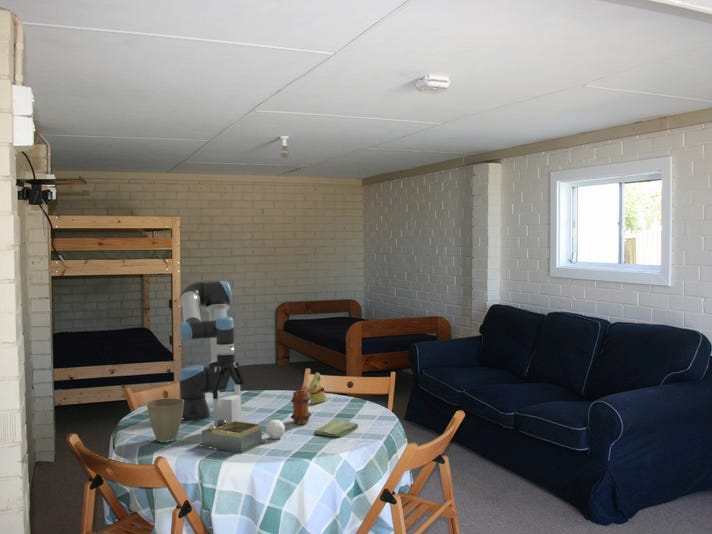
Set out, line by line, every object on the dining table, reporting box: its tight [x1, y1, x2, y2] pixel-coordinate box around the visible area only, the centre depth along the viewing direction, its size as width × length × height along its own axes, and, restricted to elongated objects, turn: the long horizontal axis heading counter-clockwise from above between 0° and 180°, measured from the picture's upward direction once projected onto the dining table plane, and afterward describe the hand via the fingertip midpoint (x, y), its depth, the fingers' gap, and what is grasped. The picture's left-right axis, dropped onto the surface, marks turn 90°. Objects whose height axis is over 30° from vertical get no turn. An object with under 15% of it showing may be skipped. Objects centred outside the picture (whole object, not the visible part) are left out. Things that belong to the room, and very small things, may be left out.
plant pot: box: [146, 397, 184, 441], centre depth 282 cm, size 15×15×16 cm
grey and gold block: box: [198, 420, 266, 454], centre depth 274 cm, size 22×15×8 cm
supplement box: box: [212, 394, 243, 426], centre depth 293 cm, size 9×9×15 cm
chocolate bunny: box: [308, 372, 327, 405], centre depth 339 cm, size 7×11×15 cm, turn 139°
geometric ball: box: [265, 419, 286, 440], centre depth 281 cm, size 8×8×8 cm
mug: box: [290, 385, 312, 425], centre depth 305 cm, size 15×8×15 cm, turn 168°
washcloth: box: [313, 419, 359, 438], centre depth 289 cm, size 13×18×3 cm
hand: (227, 402), depth 292 cm, fingers open, 13 cm apart
